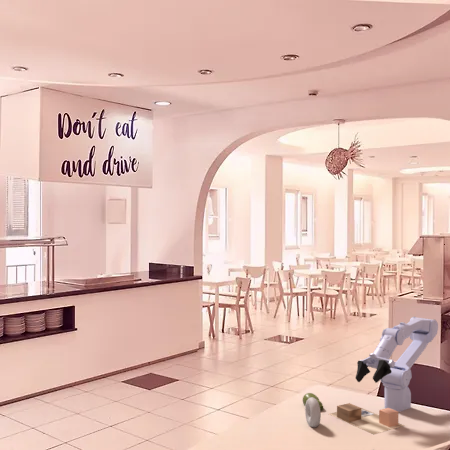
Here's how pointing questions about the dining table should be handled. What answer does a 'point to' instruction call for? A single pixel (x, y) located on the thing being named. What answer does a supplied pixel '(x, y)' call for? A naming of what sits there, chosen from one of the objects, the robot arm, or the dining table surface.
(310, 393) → the pear
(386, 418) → the top block
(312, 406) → the donut
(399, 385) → the robot arm
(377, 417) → the build board
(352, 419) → the base block
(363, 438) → the dining table surface
